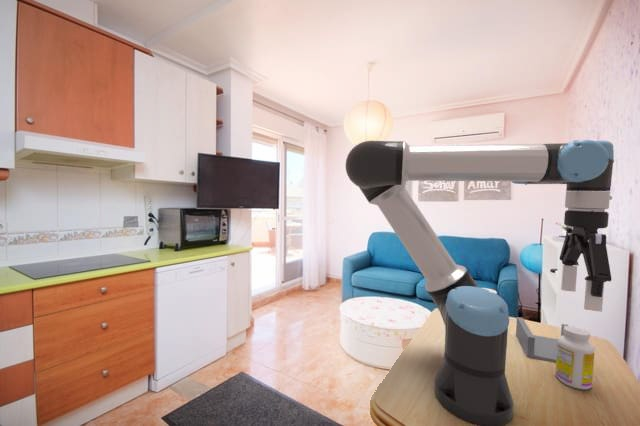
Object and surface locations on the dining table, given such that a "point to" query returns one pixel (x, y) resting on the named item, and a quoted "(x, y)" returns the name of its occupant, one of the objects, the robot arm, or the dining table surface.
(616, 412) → the dining table surface
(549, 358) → the u cradle
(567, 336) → the supplement bottle
